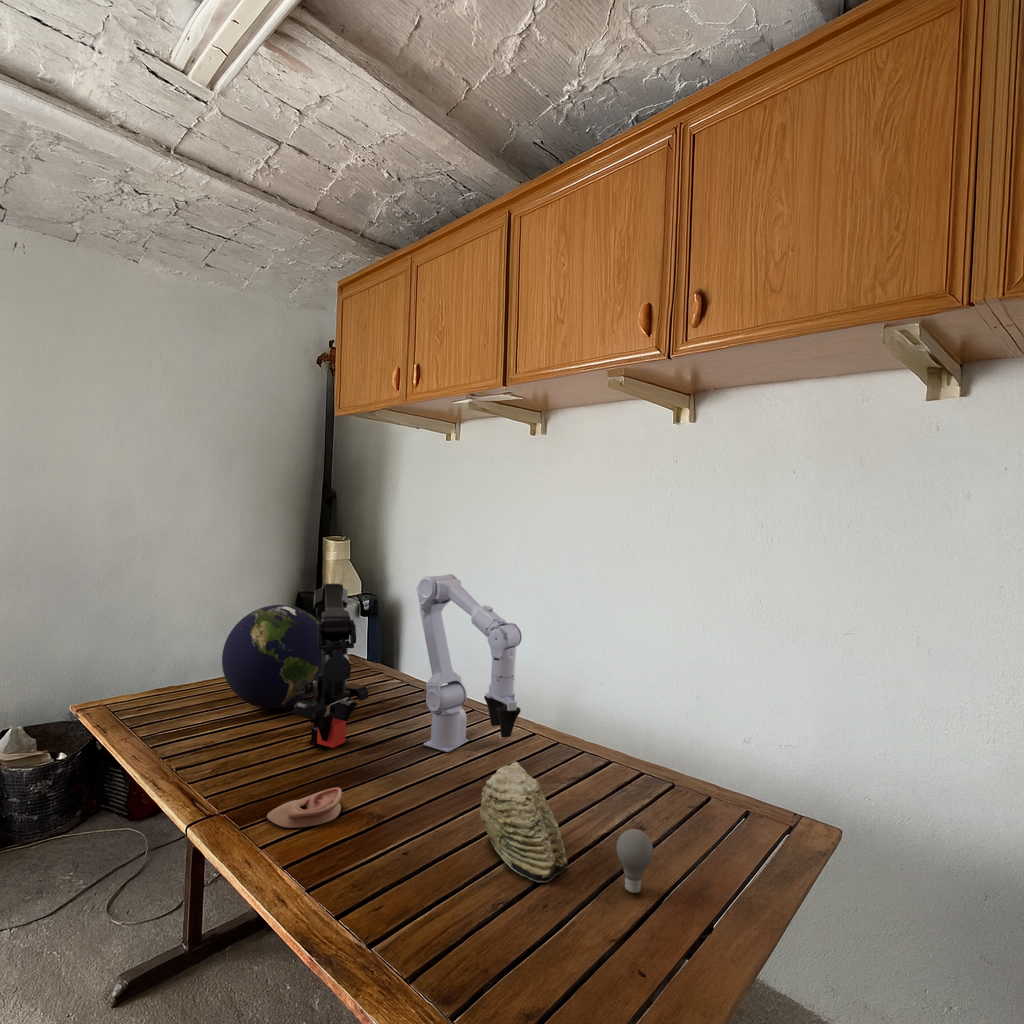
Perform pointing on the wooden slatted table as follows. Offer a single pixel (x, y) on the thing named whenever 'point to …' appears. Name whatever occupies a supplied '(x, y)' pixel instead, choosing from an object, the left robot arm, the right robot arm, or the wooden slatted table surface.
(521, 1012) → the wooden slatted table surface
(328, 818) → the anatomical model
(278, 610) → the globe
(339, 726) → the block
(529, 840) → the fossil
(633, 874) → the light bulb
